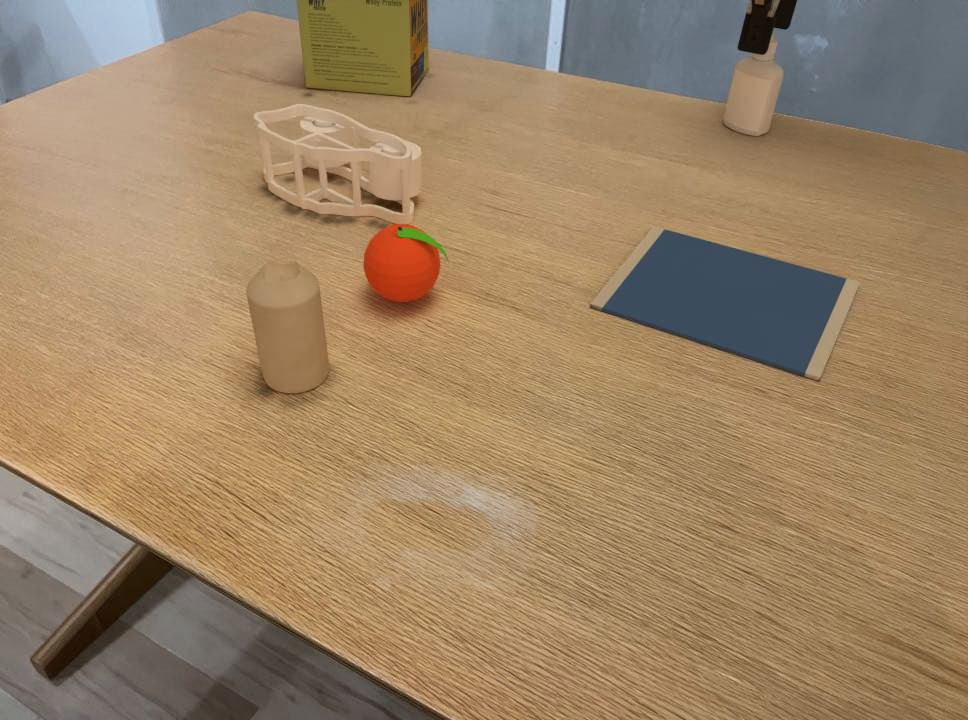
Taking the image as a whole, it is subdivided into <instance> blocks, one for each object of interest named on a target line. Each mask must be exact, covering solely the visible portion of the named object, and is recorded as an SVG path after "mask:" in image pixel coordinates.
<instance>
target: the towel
mask: <svg viewBox="0 0 968 720" xmlns="http://www.w3.org/2000/svg"><path fill="white" fill-rule="evenodd" d="M860 285H861V281H859V280H855V279H851V278H847V277H843V276H839V275H835V274H832V273H828V272H824V271H820V270H817V269H813V268H810V267H806V266H803V265H799V264H794V263H792V262H788V261H783V260H780V259H776V258H773V257H769V256H766V255H761V254H758V253H754V252H751V251H747V250H743V249H739V248H736V247H732V246H728V245H725V244H721V243H717V242H714V241H710V240H706V239H703V238H699V237H695V236H692V235H688V234H684V233H680V232H677V231H672V230H669V229H665V228H663V227H660V226H656V225H653V226H652V227H651V229H650V230H648V232H647V233H646V235H645V236H644V237H643V238H642V239H641V241H640V242H639V243H638V245H637V246H636V247H635V248H634V249H633V251H632V252H631V253H630V254H629V255H628V256H627V258H626V259H625V260H624V261H623V263H622V264H621V265H620V266H619V268H618V269H617V270H616V271H615V272H614V274H613V275H612V276H611V277H610V278H609V280H608V281H607V282H606V283H605V285H604V286H603V287H602V288H601V290H600V291H599V292H598V293H597V295H596V296H595V297H594V298H593V299H592V301H591V302H590V303H589V308H591V309H595V310H597V311H600V312H603V313H606V314H610V315H613V316H616V317H619V318H622V319H625V320H628V321H631V322H635V323H637V324H641V325H643V326H646V327H650V328H653V329H656V330H659V331H662V332H666V333H669V334H672V335H674V336H678V337H681V338H683V339H686V340H690V341H693V342H696V343H699V344H702V345H705V346H709V347H711V348H714V349H718V350H721V351H724V352H727V353H730V354H733V355H737V356H740V357H743V358H746V359H749V360H753V361H755V362H758V363H760V364H761V363H762V364H765V365H767V366H771V367H774V368H777V369H780V370H782V371H786V372H789V373H792V374H796V375H799V376H801V377H805V378H807V379H809V380H810V379H811V380H814V381H817V382H820V380H821V378H822V375H823V373H824V371H825V368H826V366H827V363H828V361H829V359H830V356H831V354H832V351H833V349H834V347H835V344H836V342H837V340H838V337H839V335H840V332H841V330H842V328H843V325H844V322H845V320H846V318H847V316H848V314H849V311H850V308H851V306H852V303H853V301H854V299H855V297H856V294H857V292H858V290H859V287H860Z"/></svg>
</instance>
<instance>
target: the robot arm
mask: <svg viewBox="0 0 968 720" xmlns="http://www.w3.org/2000/svg"><path fill="white" fill-rule="evenodd" d="M797 3H798V0H749V3H748V5H747V9H746V12H745V15H744V19H743V23H742V26H741V31H740V34H739V40H738V44H737V50H738V51H740V52H743V53H744V52H745V53H750V54H753V53H754V54H760V55H764V54H766V52H767V51H768V47H769V44H770V40H771V36H772V33H773V34H774V29H778V30H783V31H785V30H788V29H790V27H791V24H792V21H793V17H794V13H795V10H796V6H797Z"/></svg>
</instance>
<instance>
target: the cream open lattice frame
mask: <svg viewBox="0 0 968 720" xmlns="http://www.w3.org/2000/svg"><path fill="white" fill-rule="evenodd" d="M300 116H304V117H303V118H302V119H301V120H300V122H299V130H300V138H298V139H295V140H292V139H289V138H287V137H284V136H282V135H280V134H278V133H277V132H275V131H272V130H271V129H269V128H268V127H267V125H266V124H270V123H277V122H283V121H287V120H291V119H294V118H296V117H300ZM253 120H254V126H255V129H256V134H257V139H258V140H257V141H258V147H259V153H260V160H261V166H262V173H263V179H264V182H265V183H267V189H268V191H269V192H270V193H272V194H274V195H275V196H277V197H278V198H280V199H282V200H284V201H285V202H287V203H289V204H291V205H293V206H296V207H299V208H301V209H302V210H308V211H309V210H310V211H312V212H314V213H316V214H319V215H335V216H336V215H337V216H343V217H354V218H355V217H356V218H357V217H375V218H379V219H381V220H383V221H386V222H388V223H391V224H393V225H395V224H408V225H411V223H413V221H414V218H415V203H414V201H413V200H412V199H411V198H413V197H416V196H417V195H419V194H420V193H421V191H422V190H423V169H422V168H423V166H422V164H423V163H422V149H421V147H420V145H417V144H416V143H414V142H411V141H408V140H405V139H403V138H401V137H400V136H397V135H395V134H393V133H390V132H387V131H384V130H380V129H379V130H378V129H375V128H374V129H373V128H371V127H368V126H366V125H364V124H363V123H361V122H359V121H357V120H356V119H354V118H352V117H350V116H348V115H346V114H343V113H341V112H339V111H335V110H333V109H328V108H323V107H318V106H314V105H309V104H305V103H296V104H295V103H294V104H292V105H290V106H287V107H282V108H277V109H273V110H263V111H257V112H255V113H254V115H253ZM361 138H362V139H365V140H367V141H369V142H373V143H375V144H373V145H371V146H370V147H369V148H368V147H367V148H365V147H364V148H363V147H361ZM270 144H271V145H273V146H275V147H277V148H279V149H281V150H283V151H286V152H288V153H291V155H292V156H291V157H292V160H290V161H286V162H281V163H274V164H273V159H272V152H271V145H270ZM301 156H302V157H301ZM363 162H367V167H368V177H369V178H368V179H367V177H365V176H364V175H363V167H362V166H363V164H362V163H363ZM348 163H350V168H349V167H348V166H345V165H346V164H348ZM307 168H310V169H314V170H318V177H319V186H320V187H318V188H315V189H313V190H312V191H309V192H308V193H306V191H305V182H304V181H305V180H304V173H303V170H304V169H307ZM291 173H294V179H295V186H296V193H294V192H293V191H291V190H289V189H288V188H286V187H283V186H282V185H280V184H278V183H277V182H276V179H275V176H281V175H282V176H283V175H287V174H291ZM327 173H331V174H334V175H337V176H340V177H342V178H344V179H347V180H348V181H351V186H352V198H353V199H351V198H349V197H347V196H345V195H343V194H341V193H340V192H337V191H335V190H333V189H331V188H329V185H328V184H329V183H328V174H327ZM361 190H364V191H365V192H368V193H370V194H372V195H373V196H374V197H377V198H378V199H383V200H387V201H394V202H397V204H400V205H401V206H402V212H399V211H394V210H391V209H389V208H386V207H384V206H381V205H377V204H374V203H373V204H372V203H364V204H362V192H361ZM324 199H325V200H327V202H322V201H323V200H324ZM320 201H321V202H320ZM328 201H329V202H328Z"/></svg>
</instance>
